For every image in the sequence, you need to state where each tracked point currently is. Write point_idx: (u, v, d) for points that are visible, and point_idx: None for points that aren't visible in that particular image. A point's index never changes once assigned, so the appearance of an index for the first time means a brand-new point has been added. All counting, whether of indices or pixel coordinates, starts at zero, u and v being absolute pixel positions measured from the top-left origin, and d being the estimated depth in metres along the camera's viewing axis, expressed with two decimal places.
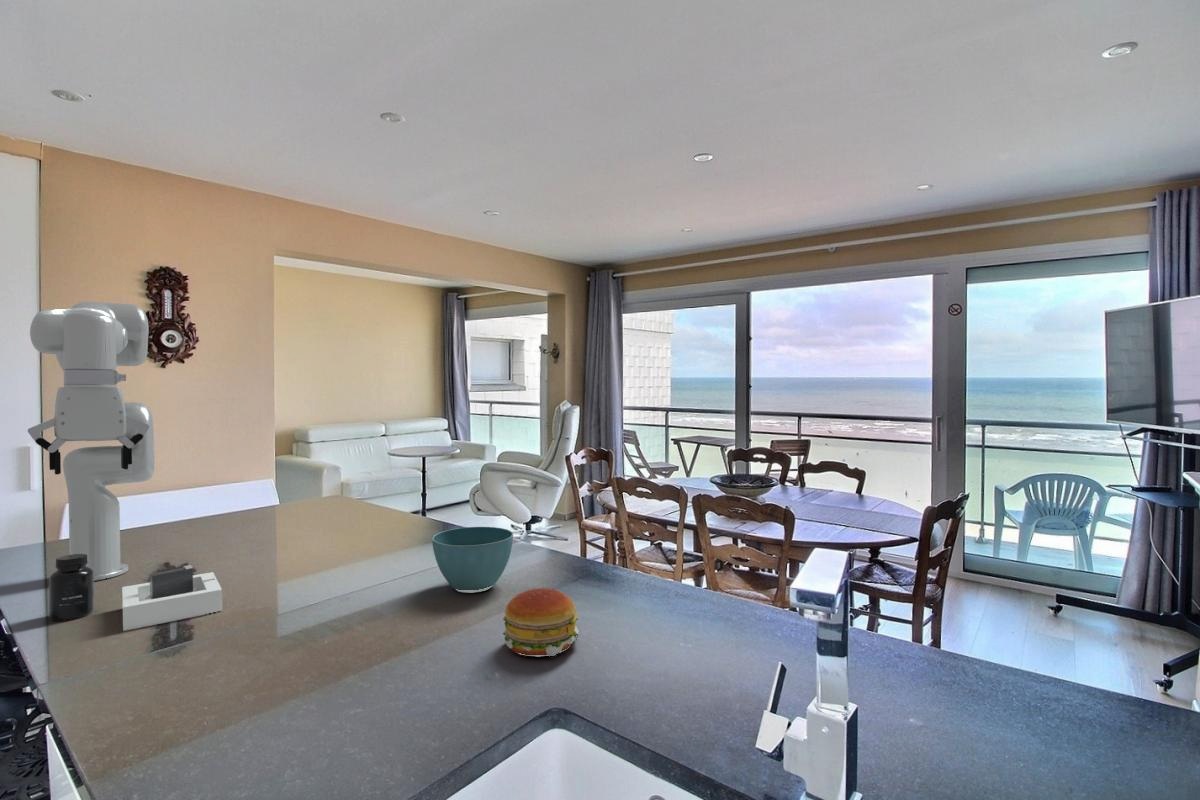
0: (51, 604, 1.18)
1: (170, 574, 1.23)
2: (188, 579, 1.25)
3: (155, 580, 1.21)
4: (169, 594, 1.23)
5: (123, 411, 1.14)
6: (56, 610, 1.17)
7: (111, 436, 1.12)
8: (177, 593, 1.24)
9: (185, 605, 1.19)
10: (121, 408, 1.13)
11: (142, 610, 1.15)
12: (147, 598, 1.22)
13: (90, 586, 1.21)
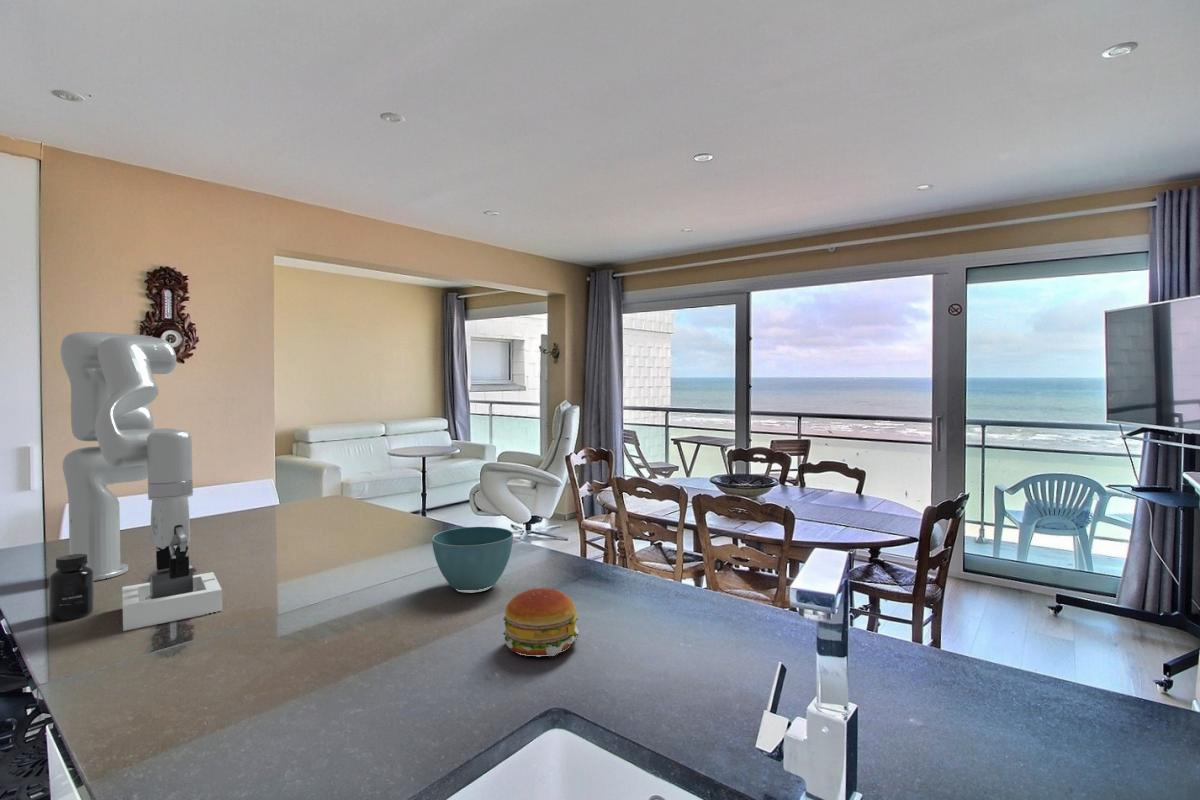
0: (51, 604, 1.18)
1: None
2: (188, 579, 1.25)
3: (155, 580, 1.21)
4: (169, 594, 1.23)
5: None
6: (56, 610, 1.17)
7: None
8: (177, 593, 1.24)
9: (185, 605, 1.19)
10: None
11: (142, 610, 1.15)
12: (147, 598, 1.22)
13: (90, 586, 1.21)
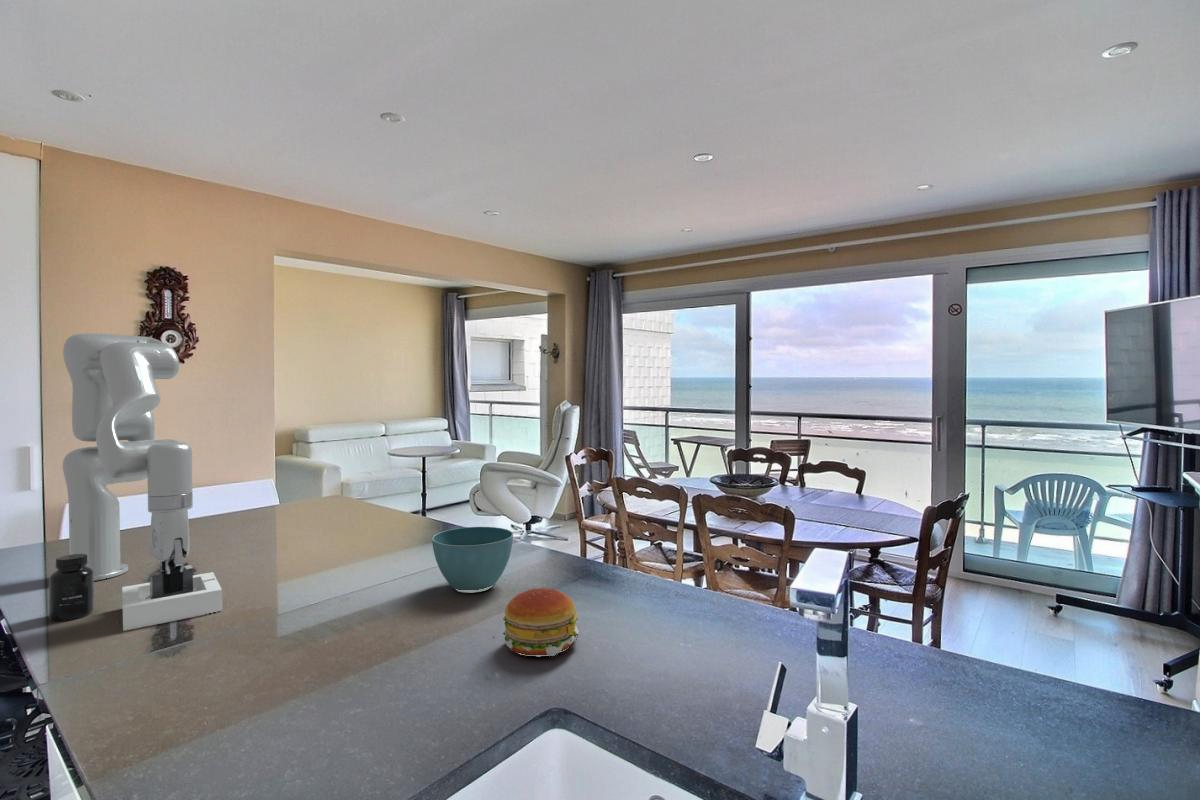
0: (51, 604, 1.18)
1: None
2: (188, 579, 1.25)
3: (155, 580, 1.21)
4: (169, 594, 1.23)
5: None
6: (56, 610, 1.17)
7: None
8: (177, 593, 1.24)
9: (185, 605, 1.19)
10: None
11: (142, 610, 1.15)
12: (147, 598, 1.22)
13: (90, 586, 1.21)
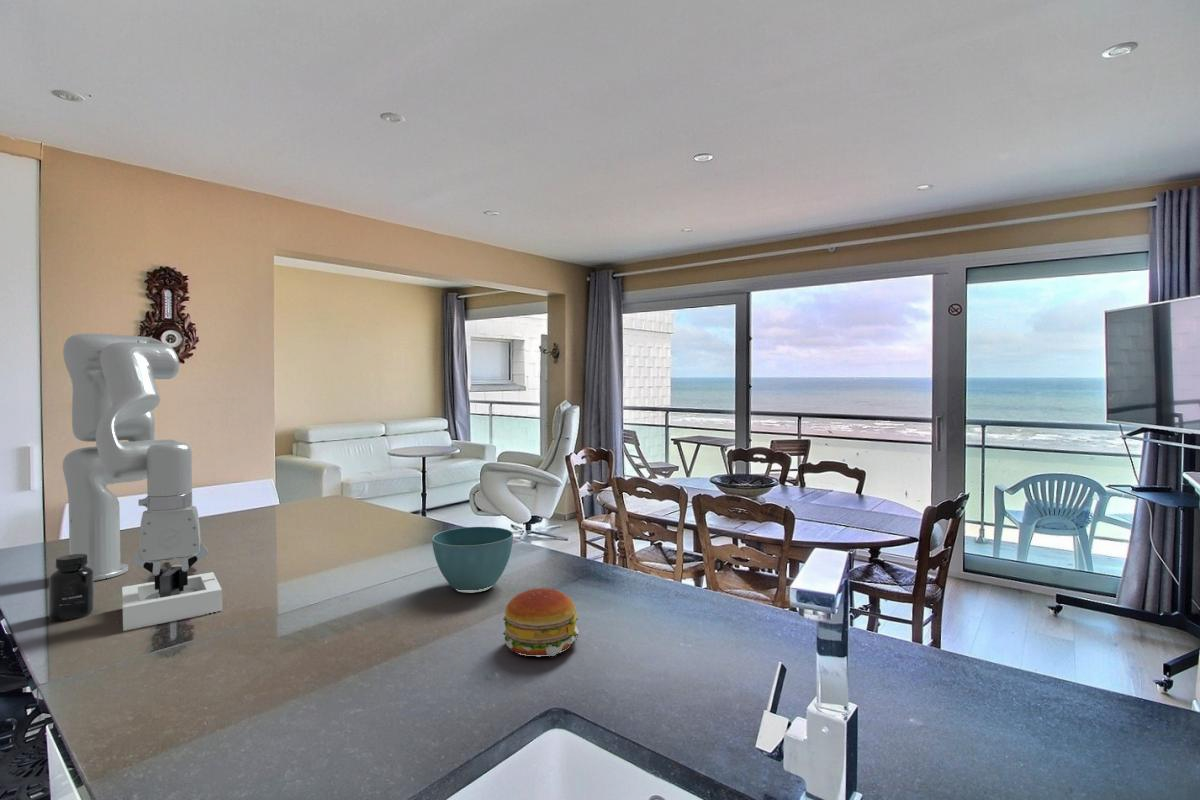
0: (51, 604, 1.18)
1: (175, 572, 1.24)
2: None
3: (171, 579, 1.21)
4: (175, 593, 1.24)
5: None
6: (56, 610, 1.17)
7: None
8: (178, 591, 1.25)
9: (185, 605, 1.19)
10: None
11: (142, 610, 1.15)
12: None
13: (90, 586, 1.21)
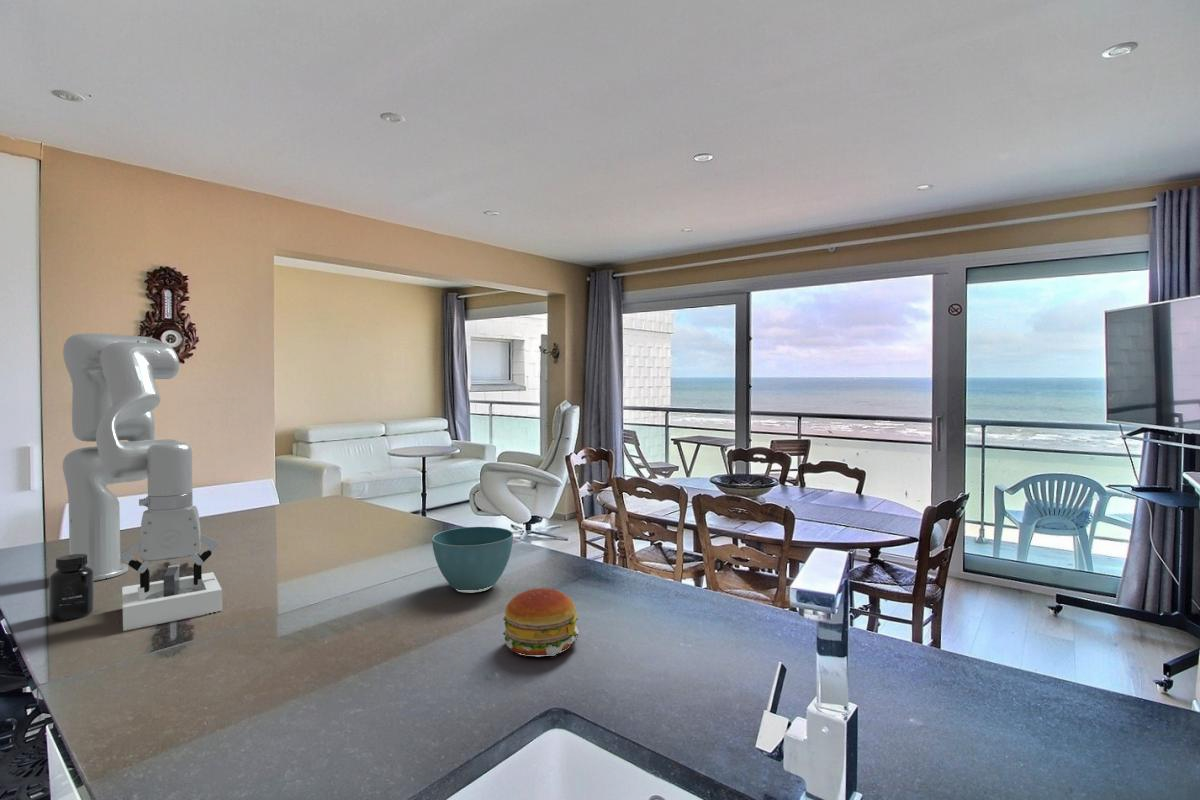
0: (51, 604, 1.18)
1: (176, 572, 1.24)
2: (178, 577, 1.27)
3: (174, 579, 1.22)
4: (176, 592, 1.24)
5: None
6: (56, 610, 1.17)
7: None
8: (177, 591, 1.25)
9: (185, 605, 1.19)
10: None
11: (142, 610, 1.15)
12: None
13: (90, 586, 1.21)
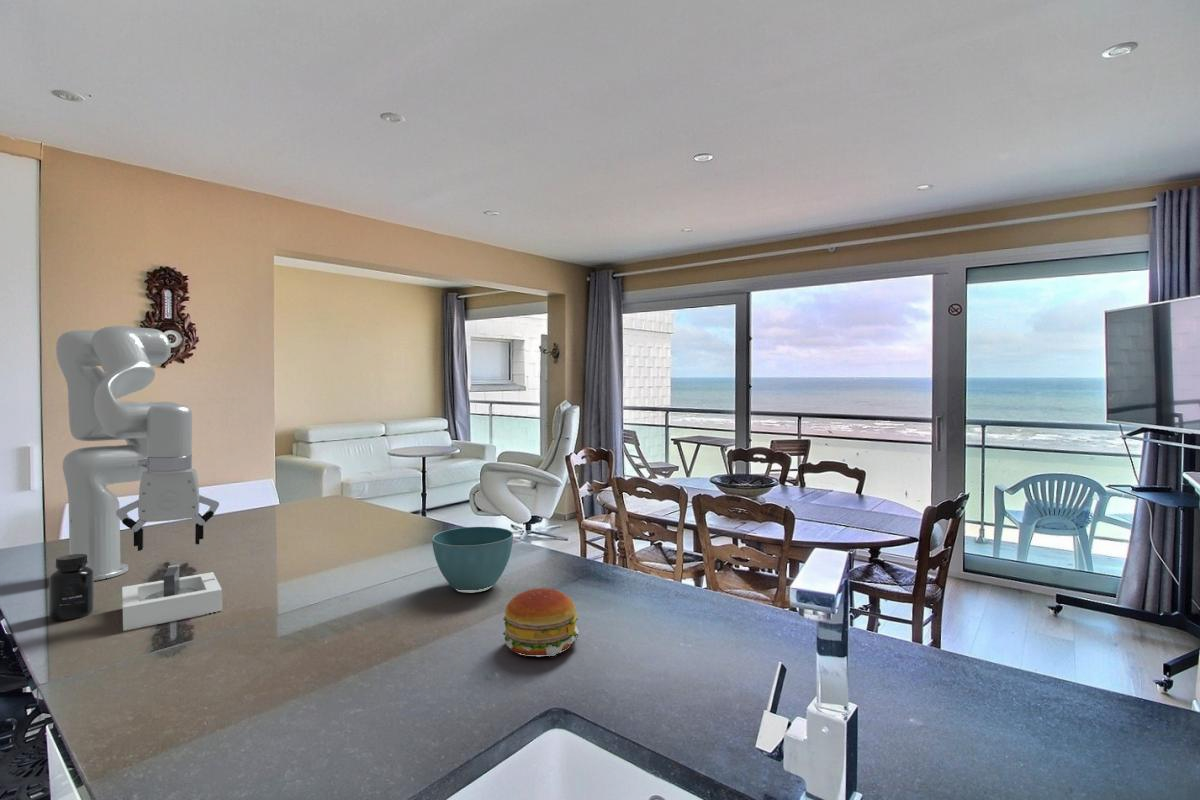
0: (51, 604, 1.18)
1: (176, 572, 1.24)
2: (178, 577, 1.27)
3: (174, 579, 1.22)
4: (176, 592, 1.24)
5: None
6: (56, 610, 1.17)
7: None
8: (177, 591, 1.25)
9: (185, 605, 1.19)
10: None
11: (142, 610, 1.15)
12: None
13: (90, 586, 1.21)
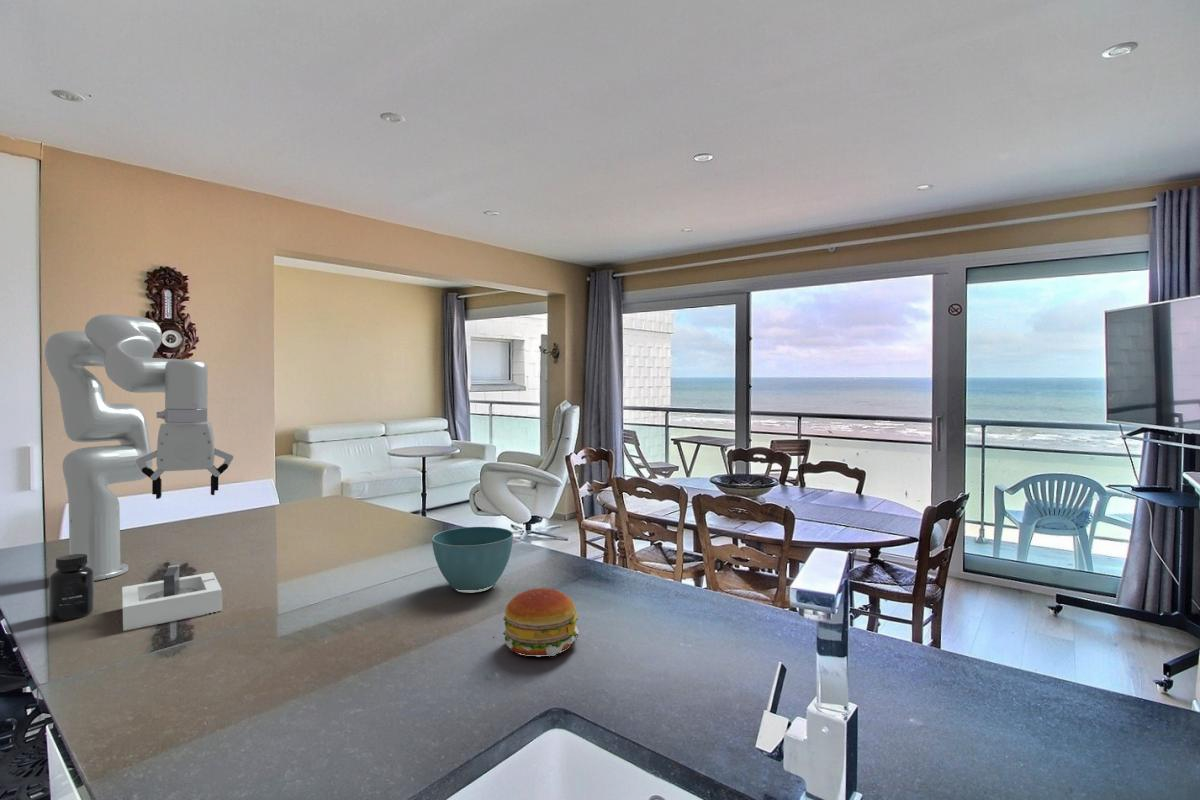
0: (51, 604, 1.18)
1: (176, 572, 1.24)
2: (178, 577, 1.27)
3: (174, 579, 1.22)
4: (176, 592, 1.24)
5: None
6: (56, 610, 1.17)
7: None
8: (177, 591, 1.25)
9: (185, 605, 1.19)
10: None
11: (142, 610, 1.15)
12: None
13: (90, 586, 1.21)
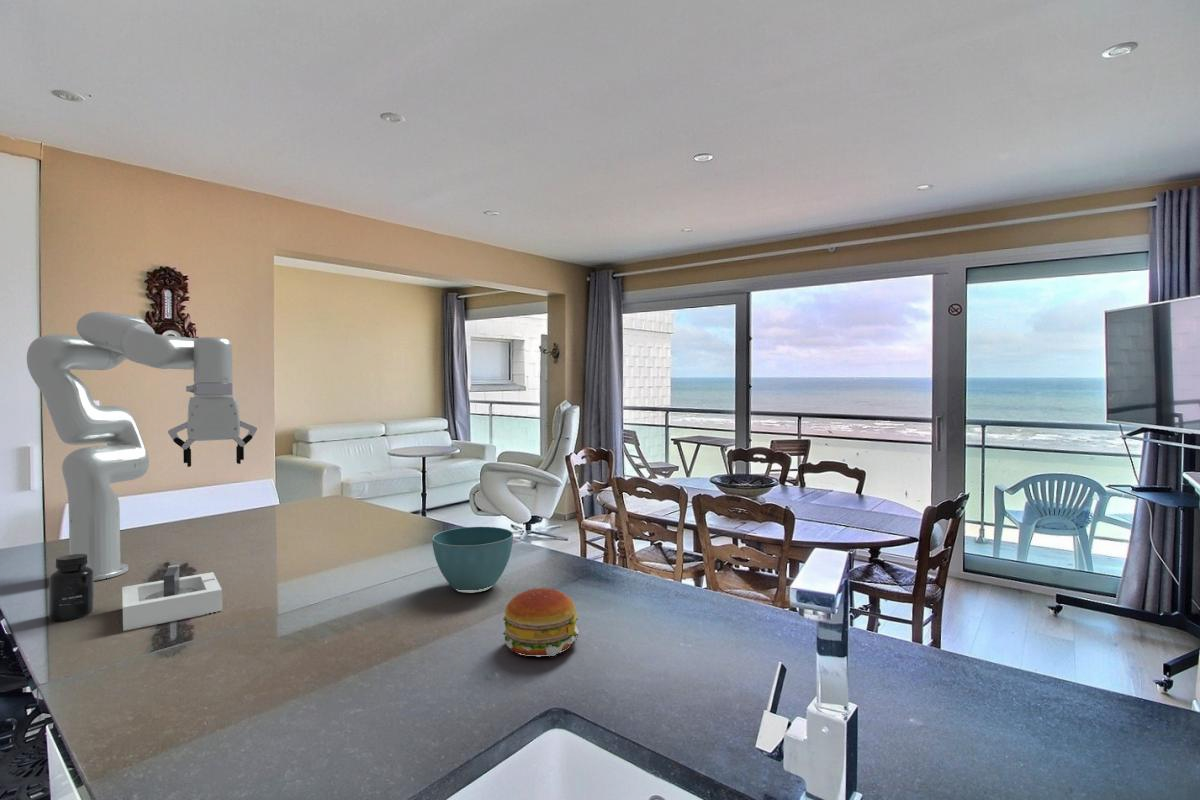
0: (51, 604, 1.18)
1: (176, 572, 1.24)
2: (178, 577, 1.27)
3: (174, 579, 1.22)
4: (176, 592, 1.24)
5: None
6: (56, 610, 1.17)
7: None
8: (177, 591, 1.25)
9: (185, 605, 1.19)
10: None
11: (142, 610, 1.15)
12: None
13: (90, 586, 1.21)
